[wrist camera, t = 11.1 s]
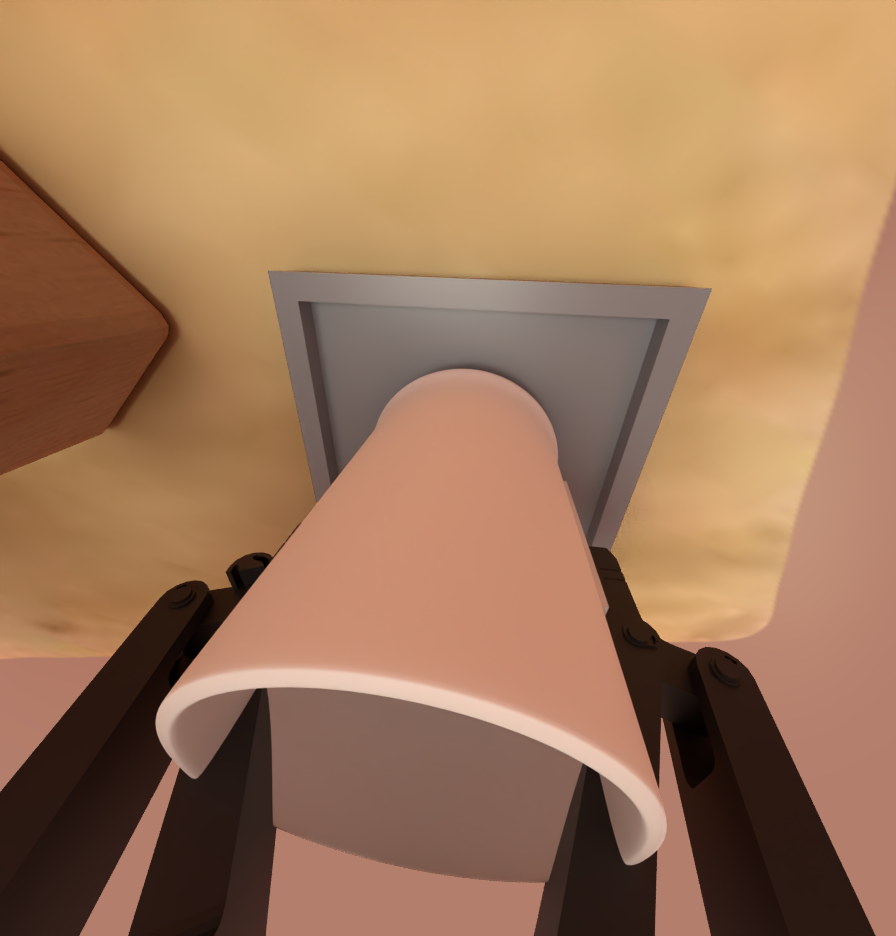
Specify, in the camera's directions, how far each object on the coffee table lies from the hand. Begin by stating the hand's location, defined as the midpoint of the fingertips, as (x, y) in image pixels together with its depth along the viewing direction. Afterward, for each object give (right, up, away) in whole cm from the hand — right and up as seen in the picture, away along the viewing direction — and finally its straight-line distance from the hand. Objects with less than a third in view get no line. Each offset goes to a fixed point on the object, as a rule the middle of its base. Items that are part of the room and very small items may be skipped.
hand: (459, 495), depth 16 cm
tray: (0, +1, +2) cm, 3 cm away
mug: (+1, 0, +1) cm, 1 cm away
